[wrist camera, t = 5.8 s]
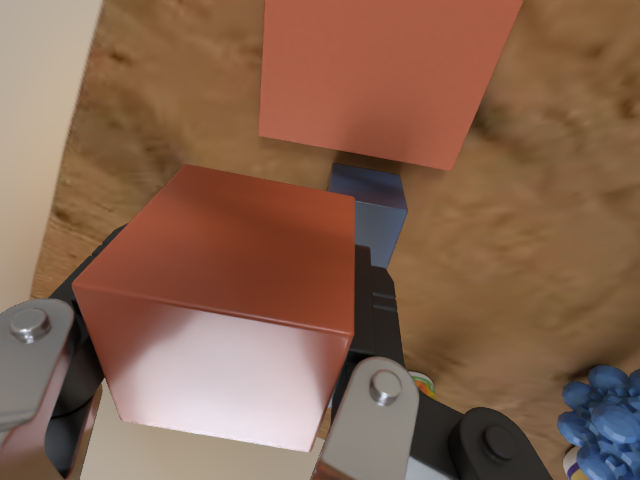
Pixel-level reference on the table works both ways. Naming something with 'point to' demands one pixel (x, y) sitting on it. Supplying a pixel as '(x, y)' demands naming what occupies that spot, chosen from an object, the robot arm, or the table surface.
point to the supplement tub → (573, 466)
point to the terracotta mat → (380, 73)
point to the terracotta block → (226, 307)
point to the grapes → (604, 423)
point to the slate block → (373, 207)
